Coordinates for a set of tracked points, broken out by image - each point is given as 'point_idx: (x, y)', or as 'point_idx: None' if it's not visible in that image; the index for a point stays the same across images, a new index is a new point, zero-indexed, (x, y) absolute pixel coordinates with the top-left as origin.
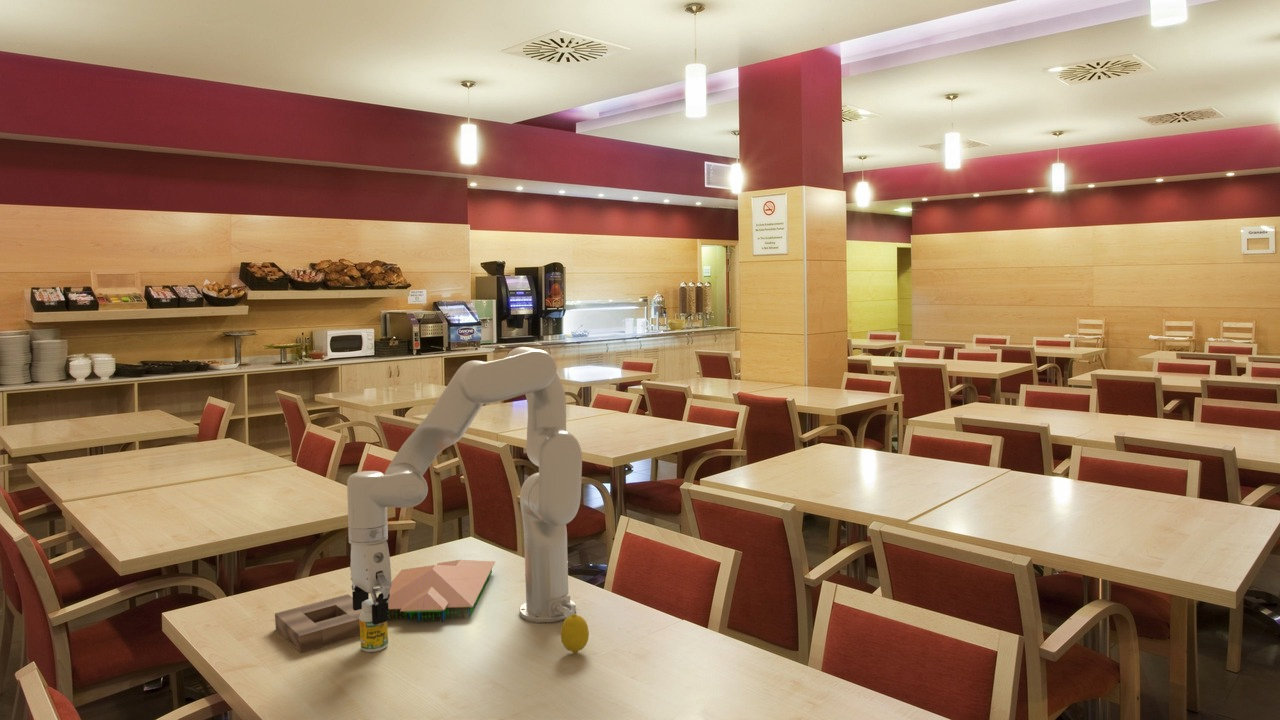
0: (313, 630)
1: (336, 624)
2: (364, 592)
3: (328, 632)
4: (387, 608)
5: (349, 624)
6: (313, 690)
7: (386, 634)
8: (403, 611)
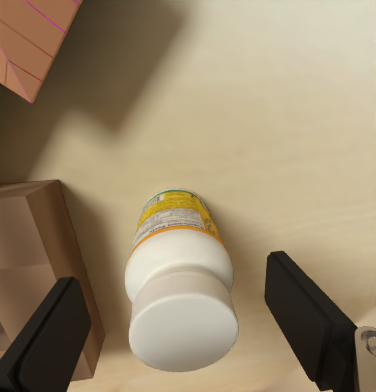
0: None
1: None
2: (38, 371)
3: None
4: (316, 290)
5: (61, 274)
6: (276, 335)
7: (204, 208)
8: (39, 89)
